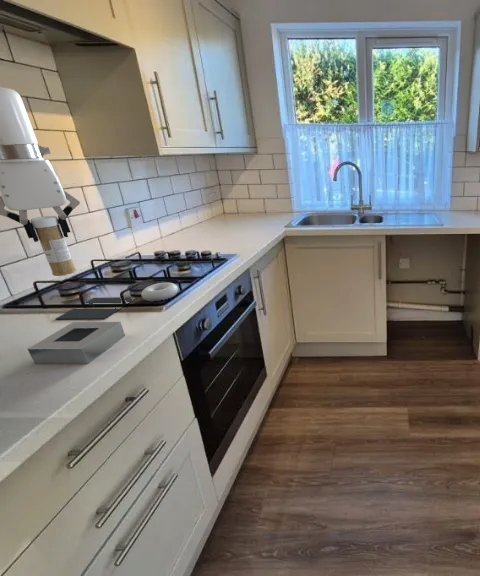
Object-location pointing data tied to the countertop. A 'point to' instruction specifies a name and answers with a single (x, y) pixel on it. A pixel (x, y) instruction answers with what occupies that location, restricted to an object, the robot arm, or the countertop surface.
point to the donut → (159, 292)
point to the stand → (77, 343)
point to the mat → (93, 310)
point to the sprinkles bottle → (54, 245)
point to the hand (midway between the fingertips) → (51, 237)
